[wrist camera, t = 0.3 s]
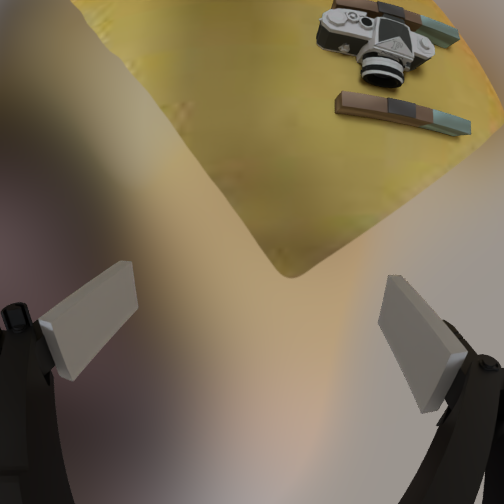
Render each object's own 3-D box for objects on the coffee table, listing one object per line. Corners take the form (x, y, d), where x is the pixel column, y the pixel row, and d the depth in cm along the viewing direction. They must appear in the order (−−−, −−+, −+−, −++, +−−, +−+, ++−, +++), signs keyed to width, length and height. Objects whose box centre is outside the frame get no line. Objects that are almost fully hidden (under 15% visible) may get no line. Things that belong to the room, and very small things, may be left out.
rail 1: (330, 10, 29) (335, -7, 24) (443, 39, 27) (458, 28, 22) (331, 19, 30) (336, 3, 24) (445, 48, 28) (461, 38, 23)
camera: (311, 73, 33) (319, 46, 23) (314, 26, 30) (322, -8, 21) (414, 99, 32) (447, 84, 22) (413, 52, 29) (442, 29, 20)
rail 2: (334, 99, 34) (342, 90, 29) (453, 124, 32) (472, 120, 27) (334, 113, 34) (342, 105, 29) (453, 136, 32) (472, 134, 27)
